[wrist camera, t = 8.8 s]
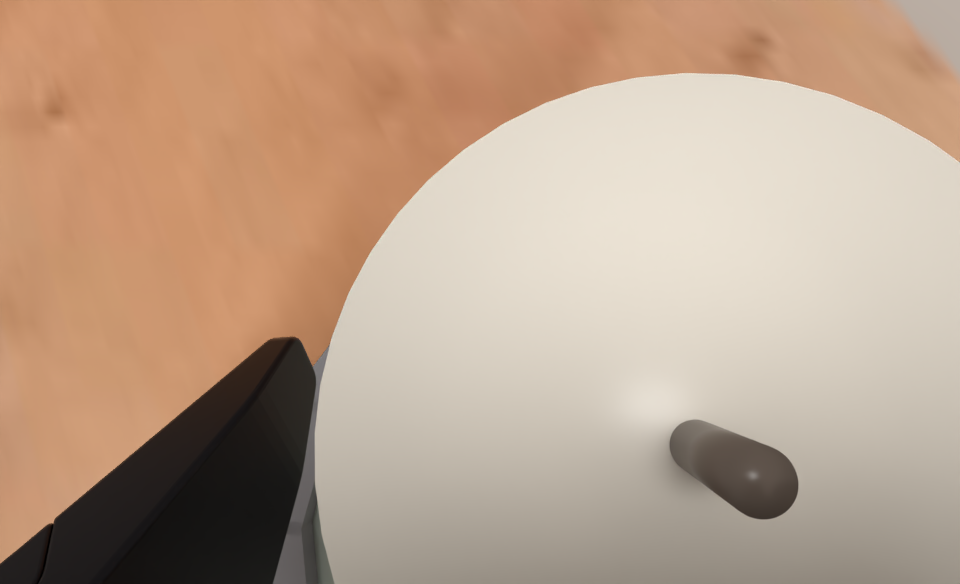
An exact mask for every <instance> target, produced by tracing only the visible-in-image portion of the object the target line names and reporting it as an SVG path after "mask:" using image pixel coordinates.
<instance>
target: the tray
mask: <svg viewBox="0 0 960 584" xmlns="http://www.w3.org/2000/svg"><path fill="white" fill-rule="evenodd" d="M329 347H330V345H329V346H328V348H327V349H326V350H325V352H324V353H323V354H322V356H321V357H320V358H319V360H318V361H317V362H316V364H315V365H314V366H313V369H314V372H315V375H316V391H315V397H314V404H313V410H312V417H311V424H310V430H309V437H308V443H307V450H306V456H305V462H304V468H303V473H302V478H301V482H300V486H299V490H298V494H297V497H296V501H295V505H294V508H293V512H292V516H291V520H290V523H289V527H288V531H287V534H286V538H285V542H284V545H283V549H282V553H281V557H280V560H279V564H278V568H277V571H276V575H275V579H274V582H273V584H334V580H333V576H332V572H331V568H330V565H329V561H328V557H327V553H326V549H325V545H324V541H323V537H322V533H321V525H320V518H319V510H318V502H317V495H316V487H315V426H316V417H317V409H318V400H319V391H320V384H321V380H322V376H323V372H324V367H325V363H326V359H327V355H328V351H329Z"/></svg>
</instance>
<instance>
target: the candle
mask: <svg viewBox="0 0 960 584" xmlns="http://www.w3.org/2000/svg"><path fill="white" fill-rule="evenodd" d="M315 487H316V495H317V502H318V510H319V518H320V525H321V533H322V537H323V541H324V545H325V549H326V553H327V557H328V561H329V565H330V568H331V572H332V576H333V580H334V584H960V162H958V161H957V160H955V159H954V158H953V157H951V156H950V155H949V154H947V153H946V152H944V151H943V150H942V149H940V148H939V147H937V146H936V145H935V144H933V143H932V142H930V141H929V140H927V139H925V138H923V137H922V136H920V135H918V134H916V133H914V132H912V131H911V130H909V129H907V128H905V127H903V126H901V125H900V124H898V123H896V122H894V121H892V120H891V119H889V118H887V117H885V116H883V115H881V114H879V113H876V112H874V111H871V110H869V109H866V108H864V107H861V106H859V105H856V104H854V103H851V102H849V101H846V100H844V99H841V98H839V97H837V96H834V95H830V94H827V93H823V92H819V91H816V90H812V89H808V88H805V87H801V86H797V85H794V84H790V83H786V82H781V81H774V80H767V79H761V78H754V77H747V76H741V75H730V74H696V73H682V74H671V75H660V76H649V77H638V78H633V79H628V80H623V81H619V82H614V83H609V84H605V85H600V86H595V87H591V88H588V89H585V90H582V91H579V92H576V93H573V94H570V95H567V96H565V97H562V98H559V99H556V100H553V101H550V102H547V103H545V104H543V105H541V106H538V107H536V108H534V109H532V110H530V111H528V112H526V113H524V114H522V115H520V116H518V117H516V118H514V119H512V120H510V121H508V122H506V123H504V124H502V125H501V126H499V127H498V128H496V129H495V130H493V131H492V132H490V133H488V134H487V135H485V136H484V137H482V138H481V139H479V140H478V141H476V142H475V143H473V144H472V145H470V146H469V147H467V148H466V149H464V150H463V151H462V152H461V153H459V154H458V155H457V156H456V157H455V158H454V159H452V160H451V161H450V162H449V163H448V164H447V165H445V166H444V167H443V168H442V169H441V170H439V171H438V172H437V173H436V174H435V175H434V176H432V177H431V178H430V179H429V180H428V181H427V182H426V183H425V184H424V185H423V187H422V188H421V189H420V190H419V191H418V192H417V193H416V194H415V195H414V196H413V197H412V199H411V200H410V201H409V202H408V203H407V204H406V205H405V206H404V207H403V208H402V210H401V211H400V212H399V213H398V214H397V215H396V217H395V218H394V220H393V221H392V222H391V224H390V225H389V227H388V228H387V230H386V231H385V232H384V234H383V235H382V237H381V238H380V239H379V241H378V242H377V244H376V245H375V247H374V248H373V249H372V251H371V252H370V254H369V256H368V258H367V260H366V262H365V264H364V265H363V267H362V269H361V271H360V273H359V275H358V277H357V279H356V280H355V282H354V284H353V286H352V288H351V290H350V292H349V294H348V296H347V299H346V302H345V304H344V307H343V309H342V312H341V315H340V317H339V320H338V323H337V325H336V328H335V331H334V333H333V336H332V339H331V343H330V347H329V351H328V355H327V359H326V363H325V367H324V372H323V376H322V380H321V384H320V391H319V400H318V409H317V417H316V426H315Z"/></svg>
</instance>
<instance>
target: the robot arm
mask: <svg viewBox="0 0 960 584" xmlns="http://www.w3.org/2000/svg"><path fill="white" fill-rule="evenodd" d="M315 391H316V375H315V372H314V369H313V367H312V365H311V362H310V360H309V358H308V356H307V353H306V351H305V349H304V347H303V345H302V343H301V341H300V340H299V339H298V338H296V337H280V338H273V339H270V340H268V341H267V342H266V343H264V344H263V345H262V346H261V347H260V348H258V349H257V350H256V351H255V352H254V353H252V354H251V355H250V356H249V357H248V358H246V359H245V360H244V361H243V362H242V363H240V364H239V365H238V366H237V367H236V368H234V369H233V370H232V371H231V372H230V373H229V374H227V375H226V376H225V377H224V378H223V379H221V380H220V381H219V382H218V383H217V384H215V385H214V386H213V387H212V388H211V389H209V390H208V391H207V392H206V393H205V394H203V395H202V396H201V397H200V398H199V399H197V400H196V401H195V402H194V403H193V404H191V405H190V406H189V407H188V408H187V409H185V410H184V411H183V412H182V413H181V414H179V415H178V416H177V417H176V418H175V419H173V420H172V421H171V422H170V423H169V424H168V425H166V426H165V427H164V428H163V429H162V430H160V431H159V432H158V433H157V434H156V435H154V436H153V437H152V438H151V439H150V440H148V441H147V442H146V443H145V444H144V445H142V446H141V447H140V448H139V449H138V450H136V451H135V452H134V453H133V454H132V455H130V456H129V457H128V458H127V459H126V460H124V461H123V462H122V463H121V464H120V465H118V466H117V467H116V468H115V469H114V470H112V471H111V472H110V473H109V474H108V475H106V476H105V477H104V478H103V479H102V480H100V481H99V482H98V483H97V484H96V485H94V486H93V487H92V488H91V489H90V490H89V491H87V492H86V493H85V494H84V495H83V496H81V497H80V498H79V499H78V500H77V501H75V502H74V503H73V504H72V505H71V506H69V507H68V508H67V509H66V510H65V511H63V512H62V513H61V514H60V515H59V516H57V517H56V518H55V520H54V524H52V523H51V524H48V525H46V526H45V527H44V528H43V529H42V530H40V531H39V532H38V533H37V534H36V535H34V536H33V537H32V538H31V539H30V540H29V541H27V542H26V543H25V544H24V545H23V546H21V547H20V548H19V549H18V550H17V551H15V552H14V553H13V554H12V555H10V556H9V557H8V558H7V559H5V560H4V561H3V562H2V563H1V564H0V584H273V582H274V579H275V575H276V571H277V568H278V564H279V560H280V557H281V553H282V549H283V545H284V542H285V538H286V534H287V531H288V527H289V523H290V520H291V516H292V512H293V508H294V505H295V501H296V497H297V494H298V490H299V486H300V482H301V478H302V473H303V468H304V462H305V456H306V450H307V443H308V437H309V430H310V424H311V417H312V410H313V404H314V397H315Z"/></svg>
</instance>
